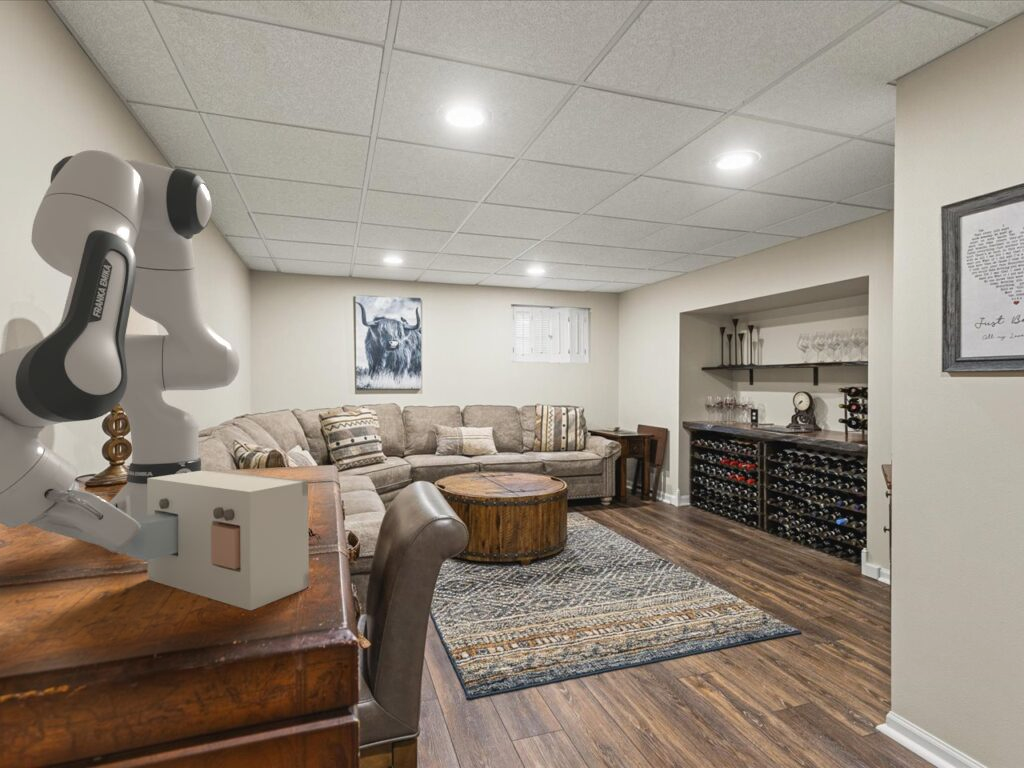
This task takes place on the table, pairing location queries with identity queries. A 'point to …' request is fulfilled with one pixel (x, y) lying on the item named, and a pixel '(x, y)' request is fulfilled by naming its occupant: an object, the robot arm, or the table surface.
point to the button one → (155, 536)
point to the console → (263, 535)
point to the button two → (225, 545)
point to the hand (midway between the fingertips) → (123, 548)
